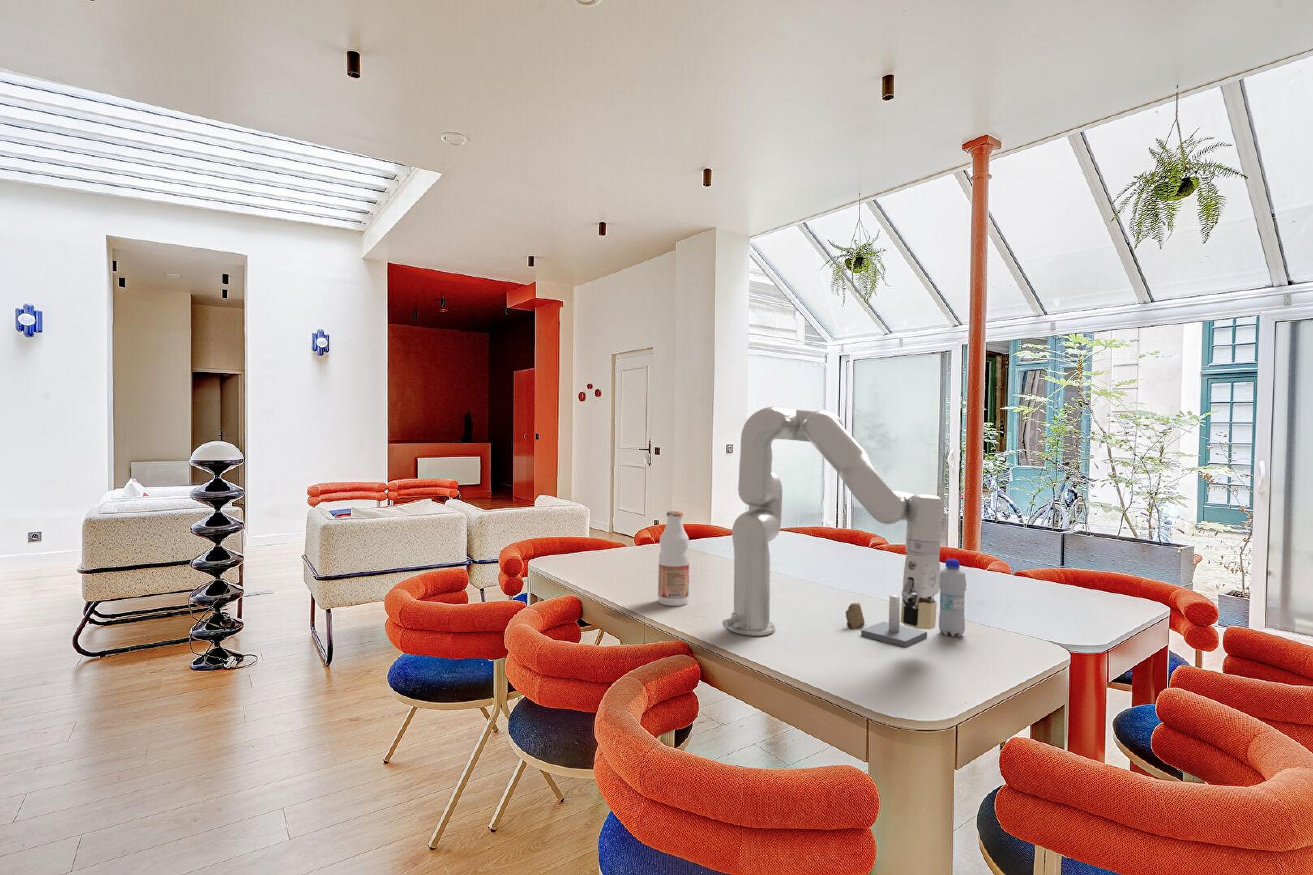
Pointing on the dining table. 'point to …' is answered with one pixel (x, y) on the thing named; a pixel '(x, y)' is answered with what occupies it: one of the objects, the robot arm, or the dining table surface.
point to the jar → (923, 613)
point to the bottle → (952, 599)
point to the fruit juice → (673, 562)
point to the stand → (894, 628)
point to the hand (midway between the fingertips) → (917, 620)
